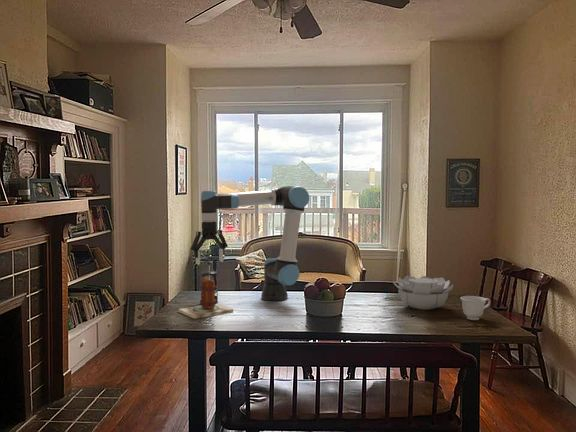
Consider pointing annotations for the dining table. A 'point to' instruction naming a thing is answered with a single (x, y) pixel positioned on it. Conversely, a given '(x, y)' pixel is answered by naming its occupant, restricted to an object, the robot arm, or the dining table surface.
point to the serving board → (205, 311)
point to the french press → (209, 279)
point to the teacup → (474, 306)
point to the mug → (208, 294)
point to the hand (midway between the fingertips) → (209, 262)
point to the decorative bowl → (423, 291)
